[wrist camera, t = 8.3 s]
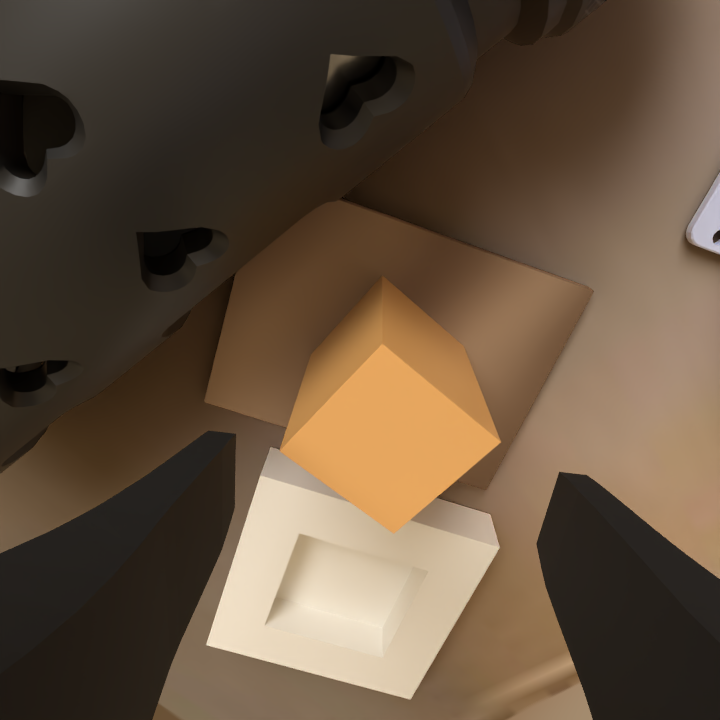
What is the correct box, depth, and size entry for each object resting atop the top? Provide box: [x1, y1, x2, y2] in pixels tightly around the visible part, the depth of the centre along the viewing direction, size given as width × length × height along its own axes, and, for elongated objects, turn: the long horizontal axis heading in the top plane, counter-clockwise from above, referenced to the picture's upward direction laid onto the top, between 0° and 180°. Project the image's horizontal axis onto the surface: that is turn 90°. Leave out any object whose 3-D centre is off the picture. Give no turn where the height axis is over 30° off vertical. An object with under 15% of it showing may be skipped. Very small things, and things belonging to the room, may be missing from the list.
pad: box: [204, 198, 594, 490], centre depth 19 cm, size 12×9×1 cm
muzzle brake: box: [0, 0, 607, 473], centre depth 12 cm, size 10×28×10 cm
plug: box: [279, 275, 501, 534], centre depth 16 cm, size 4×4×6 cm
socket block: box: [206, 447, 500, 699], centre depth 23 cm, size 10×10×2 cm
